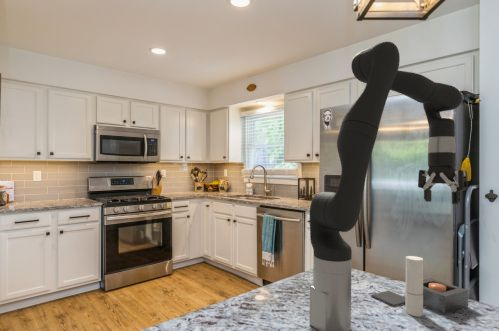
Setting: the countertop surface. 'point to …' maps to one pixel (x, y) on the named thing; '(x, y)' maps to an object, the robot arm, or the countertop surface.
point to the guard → (444, 297)
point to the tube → (414, 286)
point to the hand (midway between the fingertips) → (441, 202)
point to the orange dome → (437, 287)
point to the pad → (390, 298)
